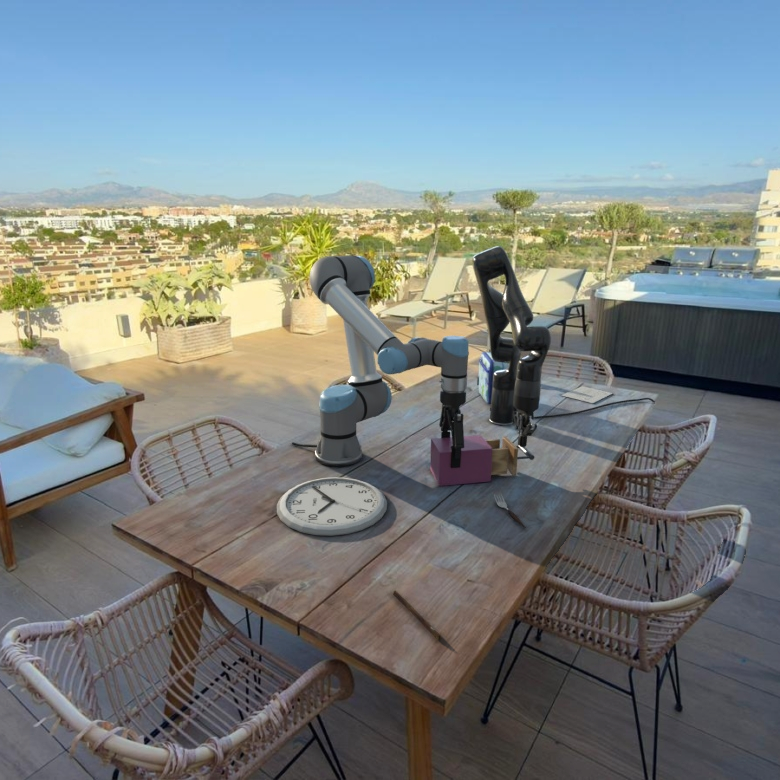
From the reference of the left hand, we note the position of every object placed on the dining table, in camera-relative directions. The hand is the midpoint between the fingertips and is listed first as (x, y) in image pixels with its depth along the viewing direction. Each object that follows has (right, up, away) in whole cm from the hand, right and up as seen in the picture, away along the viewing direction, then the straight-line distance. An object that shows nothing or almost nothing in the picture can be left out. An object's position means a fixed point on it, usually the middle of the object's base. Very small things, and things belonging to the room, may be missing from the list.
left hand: (450, 459), depth 158 cm
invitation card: (+73, +19, +84) cm, 113 cm away
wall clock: (-34, -11, -16) cm, 39 cm away
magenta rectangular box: (+3, -5, +2) cm, 7 cm away
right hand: (+23, +4, +3) cm, 23 cm away
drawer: (+15, -4, +4) cm, 16 cm away
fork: (+14, -12, -19) cm, 26 cm away
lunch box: (+27, +17, +75) cm, 82 cm away
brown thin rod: (-13, -23, -56) cm, 62 cm away
